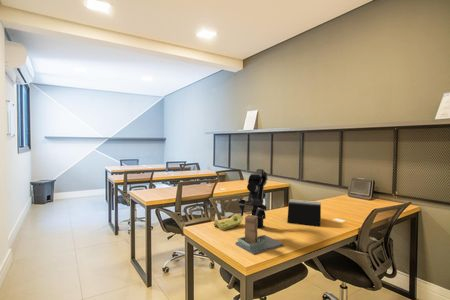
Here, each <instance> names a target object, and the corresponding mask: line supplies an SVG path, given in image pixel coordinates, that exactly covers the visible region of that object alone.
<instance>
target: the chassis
mask: <svg viewBox="0 0 450 300" xmlns="http://www.w3.org/2000/svg"><path fill="white" fill-rule="evenodd" d="M235 245H236V246H238V247H239V248H241V249H243V250H244V251H247V252H249V253H250V254H252V255H256V254H260V253H263V252H267V251H270V250H272V249H276V248H280V247H283V246H284V242H281V241H280V240H277V239H274V238H272V237H270V236H268V235H266V234H263V235H259V236H258V235H257V242H255V243H252V244H249V243H247V242H245V236H242V237H238V238H237V241H235Z"/></svg>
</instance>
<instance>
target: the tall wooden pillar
mask: <svg viewBox="0 0 450 300" xmlns="http://www.w3.org/2000/svg"><path fill="white" fill-rule="evenodd" d="M257 227H258V216H253V215H252V214H247V216H245V217H244V237H245V242H247V243H249V244H252V243H255V242H257V237H258V228H257Z"/></svg>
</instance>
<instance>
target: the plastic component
mask: <svg viewBox="0 0 450 300" xmlns="http://www.w3.org/2000/svg"><path fill="white" fill-rule="evenodd" d="M243 220H244V217H243V216H241V213H237V214H235V215H233V216H232V217H230V218H229V219H225V220H221V221H218V219H214V222H213V226H214V227H217V228H219V229H220V230H221V231H225V230H228V229H229V230H230V229H232V228H235V227H236V226H238V225H240V224H241V223H242V222H243Z"/></svg>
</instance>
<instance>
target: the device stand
mask: <svg viewBox="0 0 450 300" xmlns="http://www.w3.org/2000/svg"><path fill="white" fill-rule="evenodd" d="M321 203H322V202H321V201H313V200H312V201H311V200H301V199H300V200H299V199H289V201H288V204H287V205H288V206H287V221H286V223H287V224H292V225H293V224H295V225H301V226H302V225H303V226H310V227H319V228H320V227H321V220H322V216H321V214H322V211H321V210H322V207H321V206H322V204H321Z"/></svg>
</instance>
